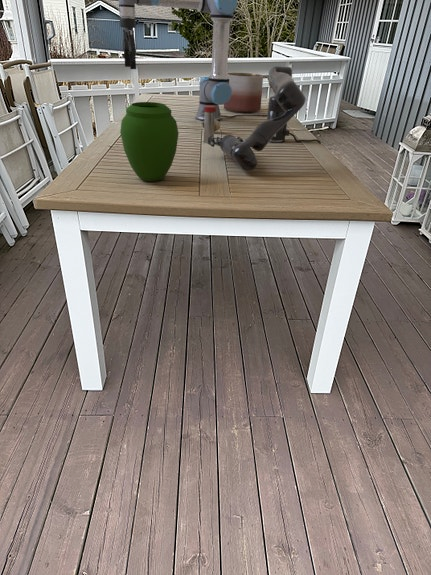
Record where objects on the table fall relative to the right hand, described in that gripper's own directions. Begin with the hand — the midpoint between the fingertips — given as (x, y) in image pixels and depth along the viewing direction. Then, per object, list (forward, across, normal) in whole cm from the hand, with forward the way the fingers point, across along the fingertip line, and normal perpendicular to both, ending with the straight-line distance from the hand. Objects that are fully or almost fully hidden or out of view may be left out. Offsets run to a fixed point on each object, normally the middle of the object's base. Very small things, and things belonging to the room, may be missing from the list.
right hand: (220, 137), depth 179 cm
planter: (+109, +47, -6) cm, 119 cm away
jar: (+20, 0, -6) cm, 21 cm away
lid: (+20, 0, +9) cm, 22 cm away
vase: (-34, -35, -6) cm, 49 cm away
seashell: (+41, +7, -6) cm, 42 cm away
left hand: (+60, -32, +22) cm, 71 cm away
